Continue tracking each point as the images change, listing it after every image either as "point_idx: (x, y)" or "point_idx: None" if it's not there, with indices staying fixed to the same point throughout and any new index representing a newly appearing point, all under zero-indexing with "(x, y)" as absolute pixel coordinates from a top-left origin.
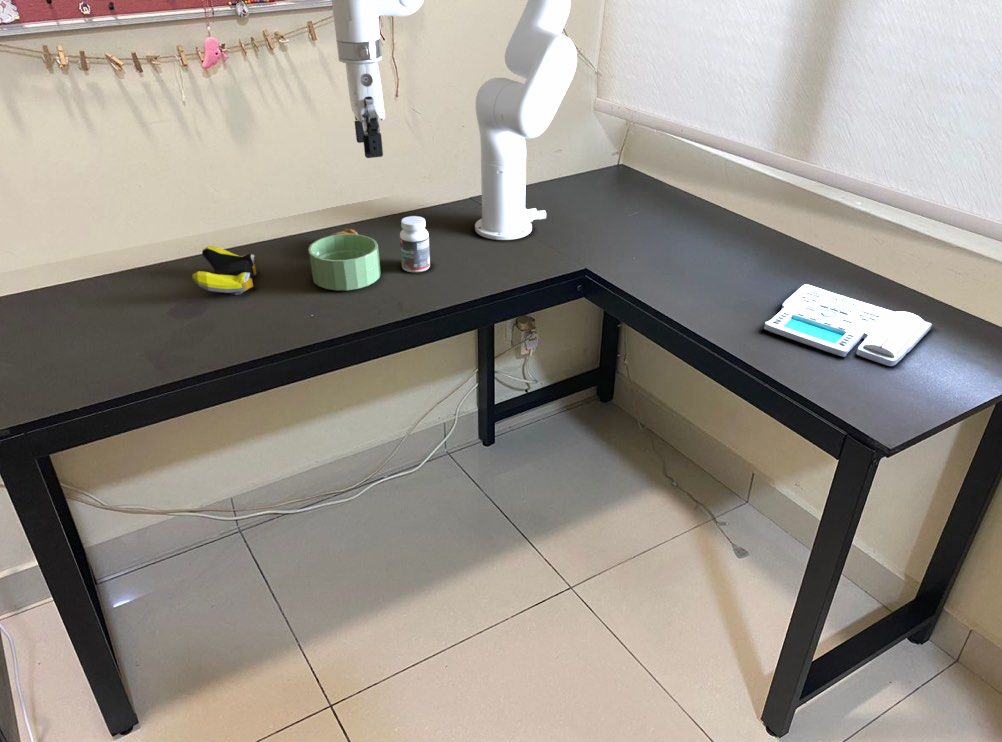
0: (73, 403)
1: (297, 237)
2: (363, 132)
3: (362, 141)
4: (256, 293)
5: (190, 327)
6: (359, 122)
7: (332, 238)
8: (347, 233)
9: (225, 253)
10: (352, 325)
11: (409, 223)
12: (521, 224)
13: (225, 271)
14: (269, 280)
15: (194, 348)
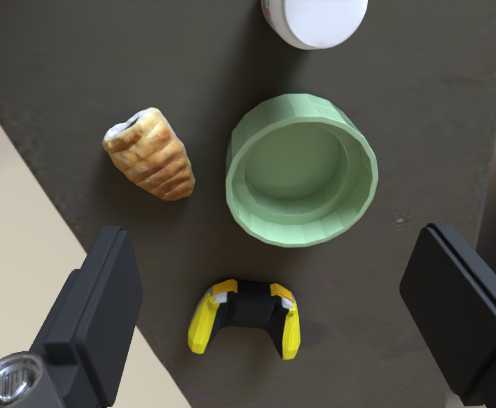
0: (440, 387)
1: (72, 216)
2: (124, 314)
3: (138, 279)
4: (290, 277)
5: (351, 332)
6: (107, 394)
7: (233, 200)
8: (138, 147)
9: (208, 329)
10: (469, 172)
11: (348, 25)
12: None
13: (254, 322)
14: (252, 262)
15: (403, 327)
